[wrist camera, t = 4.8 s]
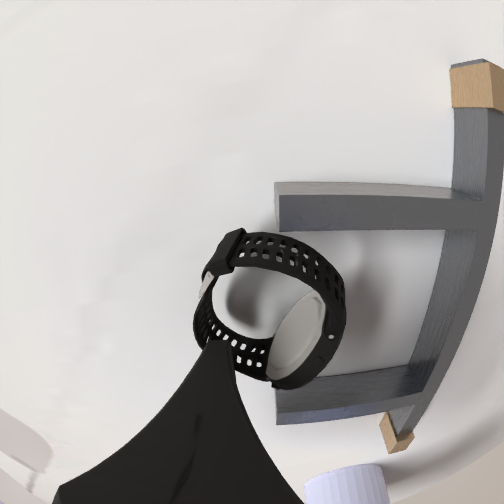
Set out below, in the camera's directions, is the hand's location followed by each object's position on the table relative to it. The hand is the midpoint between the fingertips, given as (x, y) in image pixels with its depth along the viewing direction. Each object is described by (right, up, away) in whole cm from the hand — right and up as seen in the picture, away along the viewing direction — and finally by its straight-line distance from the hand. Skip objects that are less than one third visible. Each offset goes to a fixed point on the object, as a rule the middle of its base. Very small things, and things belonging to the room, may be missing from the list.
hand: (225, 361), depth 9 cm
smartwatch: (-1, 0, +1) cm, 2 cm away
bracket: (+6, +1, +2) cm, 7 cm away
